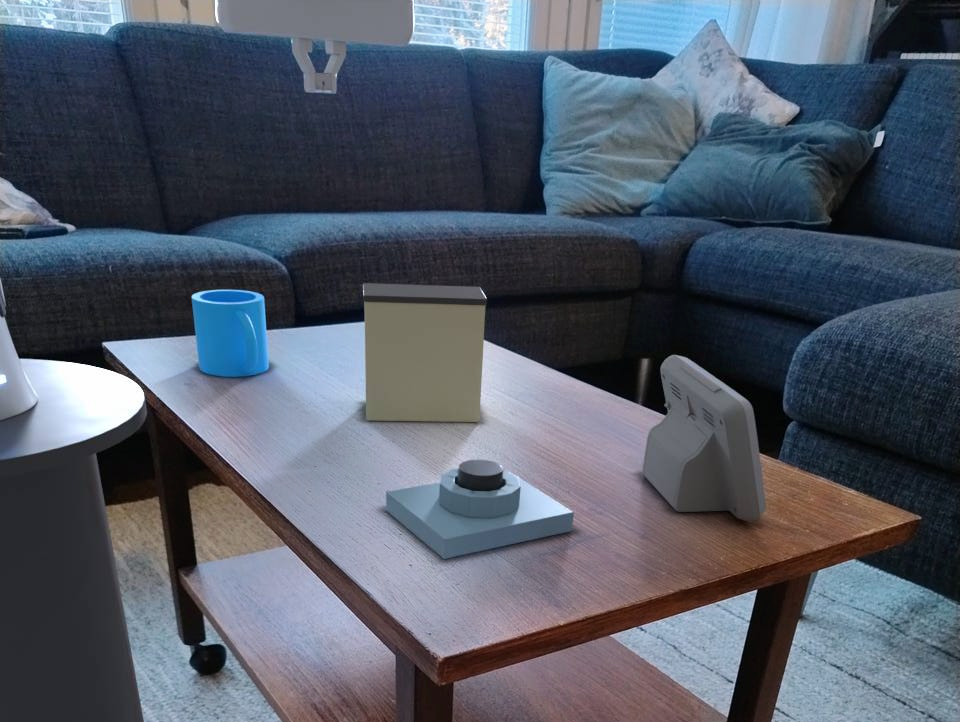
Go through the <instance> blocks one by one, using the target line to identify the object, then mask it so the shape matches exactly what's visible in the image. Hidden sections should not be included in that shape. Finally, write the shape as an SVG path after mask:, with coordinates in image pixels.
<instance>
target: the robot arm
mask: <svg viewBox="0 0 960 722" xmlns="http://www.w3.org/2000/svg"><path fill="white" fill-rule="evenodd" d="M214 5H215V9H214V10H215V11H214V12H215V19H216V22H217V24H218V25H219V27H220V28H221V29H222V31H223V32H224V33H225V34H235V35H236V34H237V35H246V36H247V35H248V36H258V37H259V36H260V37H272V38H285V39H291V53H292V54H293V56H294V58H295V60H296V63H297V64H298V66H299V68H300V70H301V72H302V73H303V86H304V87H303V88H304V92H305V93H310V94H332V95H335V94H336V93H337V91H338V90H337V89H338V88H337V87H338V86H337V85H338V84H337V75H338V73H339V71H340V69H341V68H342V65H343V63H344V61H345V59H346V56H347V43H348V44H360V45H372V46H383V47H396V48H397V47H399V48H402V47H403V48H404V47H406V46H408V45H409V43H410V41H411V40H412V38H413V36H414V31H415V9H414V0H214ZM313 41H323V42H324V43H325V44H324V45H325V53H326V55H330V56H329V59H328V62H327V64H326V67H325V69H324V71H323V72H317V71H316V70H315V67H314V64H313V61H311V58H310V57H309V54H308V53H313ZM1 279H2V278H0V421H1V420H4V419H7V418H10V417H13V416H15V415H18V414H21V413H23V412H25V411H27V410H28V409H30V408H31V407H33V406H34V405H35V404H36V403H37V400H38V397H37V395H36V393H35V391H34V390H33V388H32V386H31V384H30V382H29V380H28V378H27V376H26V374H25V372H24V370H23V367H22V365H21V363H20V360H19V359H20V358H19V356H18V355H19V354H18V353H17V350H16V348H15V345H14V342H13V340H12V335H11V334H10V330H9V327H8V323H7V320H6V317H5V316H6V314H7V311H6V307H7V305H6V299H5V294H4V288H3V283H2V280H1Z"/></svg>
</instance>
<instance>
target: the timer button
mask: <svg viewBox="0 0 960 722" xmlns="http://www.w3.org/2000/svg"><path fill="white" fill-rule="evenodd" d="M457 468H458V486H459V487H461V488H464V489H468V490H472V491H493V490H499V489H501V488H502V480H503V471H504V468H503V466H502V465H501V464H500V463H497V462H495V461H492V460H487V459H469V460H465V461H463V462H461V463H459V465H458V467H457Z"/></svg>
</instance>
